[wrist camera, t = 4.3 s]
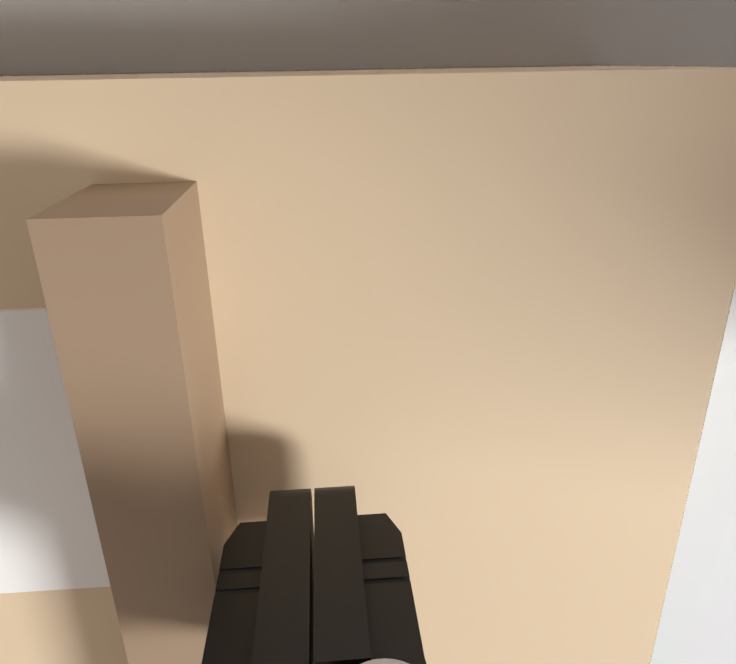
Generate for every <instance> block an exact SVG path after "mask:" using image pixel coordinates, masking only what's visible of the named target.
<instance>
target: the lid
mask: <svg viewBox="0 0 736 664" xmlns="http://www.w3.org/2000/svg"><path fill="white" fill-rule="evenodd" d="M735 283H736V67H731V68H674V69H617V70H561V71H504V72H447V73H391V74H334V75H277V76H220V77H164V78H107V79H50V80H0V664H201V663H202V658H203V653H204V647H205V642H206V637H207V631H208V626H209V621H210V615H211V610H212V605H213V600H214V595H215V589H216V584H217V578H218V574H219V568H220V562H221V557H222V552H223V546H224V544H225V542H226V541H227V540H228V538H229V537H230V536H231V534H232V533H233V531H234V530H235V529H236V527H237V526H238V525H239V523H242V522H257V521H267V512H268V503H269V494H270V491H277V490H294V489H310V488H311V492H312V507H313V523H314V488H324V487H340V486H355V494H356V504H357V515H365V514H381V513H386V514H387V515H388V516H389V518H390V519H391V520H392V521H393V523H394V524H395V525H396V526H397V528H398V529H399V530H400V531H401V533H402V538H403V543H404V549H405V554H406V561H407V565H408V570H409V576H410V581H411V586H412V592H413V597H414V603H415V608H416V613H417V619H418V624H419V630H420V635H421V640H422V646H423V651H424V657H425V660H426V664H650V662H651V657H652V653H653V648H654V644H655V639H656V635H657V631H658V626H659V622H660V617H661V613H662V608H663V604H664V599H665V595H666V590H667V586H668V582H669V577H670V573H671V568H672V564H673V559H674V555H675V550H676V546H677V541H678V537H679V532H680V528H681V524H682V519H683V515H684V510H685V506H686V501H687V497H688V492H689V488H690V483H691V479H692V475H693V470H694V466H695V461H696V457H697V452H698V448H699V443H700V439H701V434H702V430H703V426H704V421H705V417H706V412H707V408H708V403H709V399H710V394H711V390H712V385H713V381H714V376H715V372H716V368H717V363H718V359H719V354H720V350H721V345H722V341H723V336H724V332H725V327H726V323H727V319H728V314H729V310H730V305H731V301H732V296H733V292H734V287H735Z"/></svg>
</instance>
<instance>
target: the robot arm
mask: <svg viewBox="0 0 736 664" xmlns="http://www.w3.org/2000/svg"><path fill="white" fill-rule="evenodd" d="M201 664H426V660H425V657H424V651H423V646H422V640H421V635H420V630H419V624H418V619H417V613H416V608H415V603H414V597H413V592H412V586H411V581H410V576H409V570H408V565H407V561H406V554H405V549H404V543H403V538H402V533H401V531H400V530H399V529H398V528H397V526H396V525H395V524H394V523H393V521H392V520H391V519H390V518H389V516H388V515H387V514H386V513H381V514H365V515H357V504H356V494H355V486H340V487H324V488H314V523H313V507H312V492H311V488H310V489H294V490H277V491H270V494H269V503H268V512H267V521H257V522H242V523H239V525H238V526H237V527H236V529H235V530H234V531H233V533H232V534H231V536H230V537H229V538H228V540H227V541H226V542H225V544H224V546H223V552H222V557H221V562H220V568H219V574H218V578H217V584H216V589H215V595H214V600H213V605H212V610H211V615H210V621H209V626H208V631H207V637H206V642H205V647H204V653H203V658H202V663H201Z"/></svg>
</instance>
